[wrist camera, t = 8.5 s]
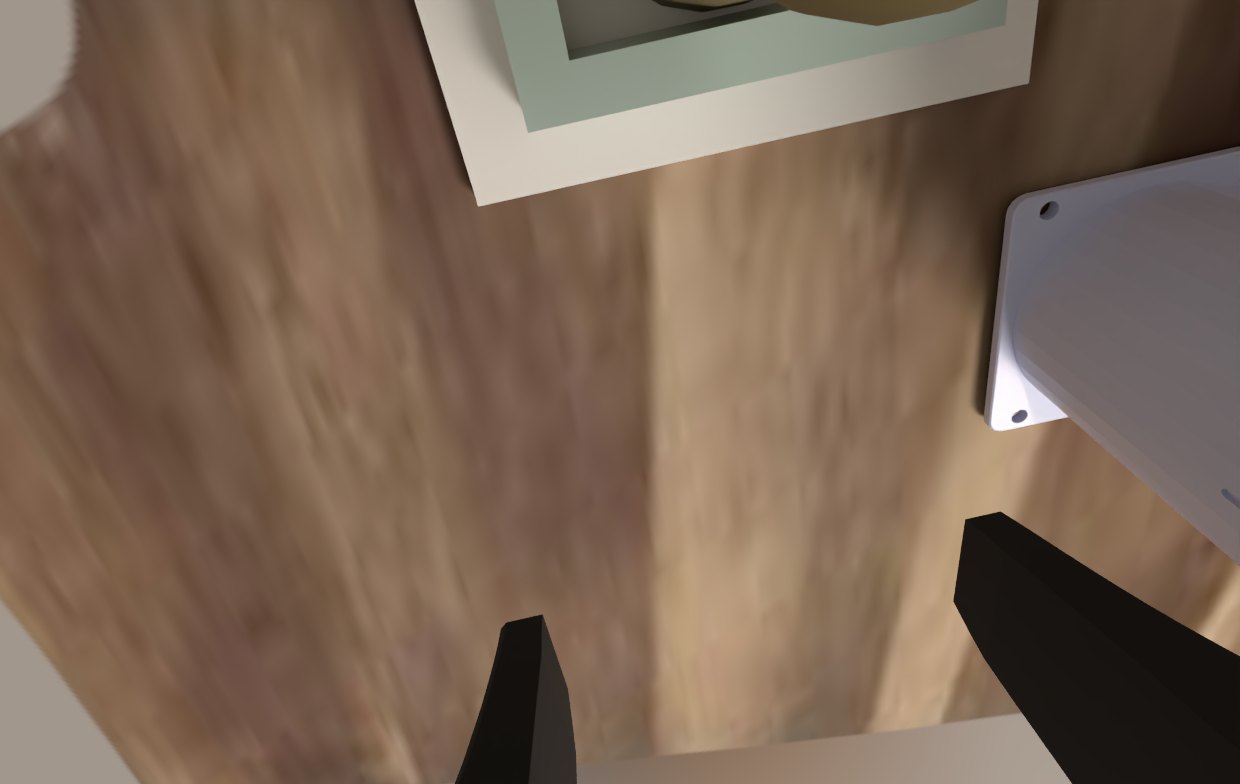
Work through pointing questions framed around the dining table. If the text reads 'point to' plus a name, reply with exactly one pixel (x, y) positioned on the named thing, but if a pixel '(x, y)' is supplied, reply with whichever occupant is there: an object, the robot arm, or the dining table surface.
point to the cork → (840, 8)
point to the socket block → (689, 79)
